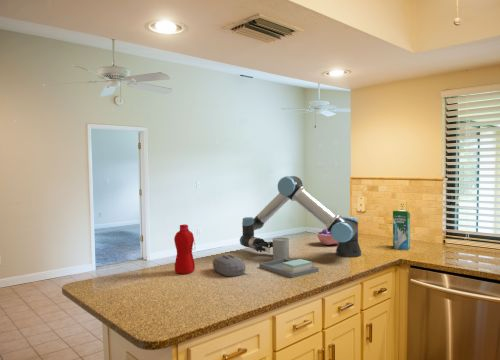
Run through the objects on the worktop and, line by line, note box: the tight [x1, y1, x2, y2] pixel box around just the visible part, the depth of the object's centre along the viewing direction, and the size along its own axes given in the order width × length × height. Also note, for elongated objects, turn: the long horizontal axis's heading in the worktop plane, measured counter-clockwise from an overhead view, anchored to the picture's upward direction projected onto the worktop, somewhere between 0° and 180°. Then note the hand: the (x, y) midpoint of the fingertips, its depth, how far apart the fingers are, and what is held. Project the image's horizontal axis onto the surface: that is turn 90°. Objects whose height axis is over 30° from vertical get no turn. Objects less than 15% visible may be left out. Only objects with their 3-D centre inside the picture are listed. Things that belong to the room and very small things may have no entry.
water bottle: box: [173, 224, 196, 275], centre depth 198 cm, size 9×11×25 cm
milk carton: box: [392, 209, 411, 251], centre depth 249 cm, size 9×9×25 cm
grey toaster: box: [212, 254, 246, 277], centre depth 197 cm, size 15×8×20 cm
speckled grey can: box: [272, 237, 290, 261], centre depth 222 cm, size 10×10×12 cm
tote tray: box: [258, 258, 319, 279], centre depth 197 cm, size 26×18×3 cm
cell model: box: [315, 228, 338, 246], centre depth 264 cm, size 17×20×11 cm
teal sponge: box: [282, 258, 313, 273], centre depth 191 cm, size 8×12×5 cm
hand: (278, 248), depth 223 cm, fingers open, 13 cm apart
